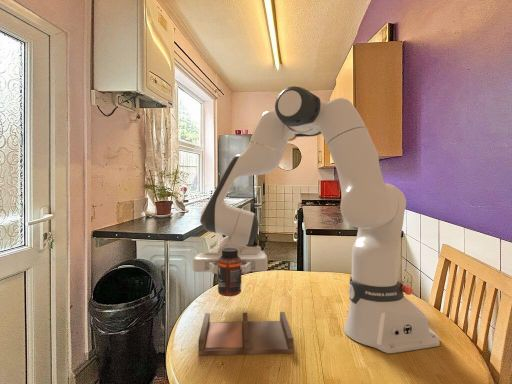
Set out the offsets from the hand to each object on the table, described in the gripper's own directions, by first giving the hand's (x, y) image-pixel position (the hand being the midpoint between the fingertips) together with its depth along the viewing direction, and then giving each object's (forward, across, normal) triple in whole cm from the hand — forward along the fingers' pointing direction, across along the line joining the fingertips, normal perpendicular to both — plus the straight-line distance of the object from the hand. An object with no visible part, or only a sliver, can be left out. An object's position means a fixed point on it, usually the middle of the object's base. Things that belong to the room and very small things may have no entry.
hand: (229, 270), depth 78 cm
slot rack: (+1, +4, +17) cm, 17 cm away
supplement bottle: (-1, 0, +6) cm, 6 cm away
